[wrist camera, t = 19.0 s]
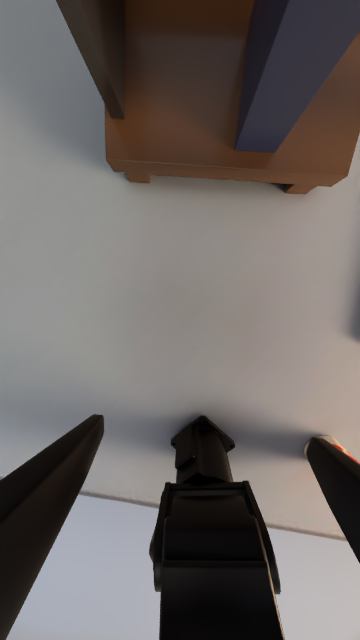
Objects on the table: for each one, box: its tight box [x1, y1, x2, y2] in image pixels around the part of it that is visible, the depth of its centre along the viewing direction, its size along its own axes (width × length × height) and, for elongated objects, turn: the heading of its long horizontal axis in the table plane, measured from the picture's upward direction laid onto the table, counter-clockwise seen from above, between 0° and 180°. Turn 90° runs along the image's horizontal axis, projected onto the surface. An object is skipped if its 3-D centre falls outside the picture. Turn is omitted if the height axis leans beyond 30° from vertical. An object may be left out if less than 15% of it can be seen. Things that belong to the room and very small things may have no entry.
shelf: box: [56, 0, 360, 194], centre depth 10 cm, size 11×18×11 cm, turn 86°
